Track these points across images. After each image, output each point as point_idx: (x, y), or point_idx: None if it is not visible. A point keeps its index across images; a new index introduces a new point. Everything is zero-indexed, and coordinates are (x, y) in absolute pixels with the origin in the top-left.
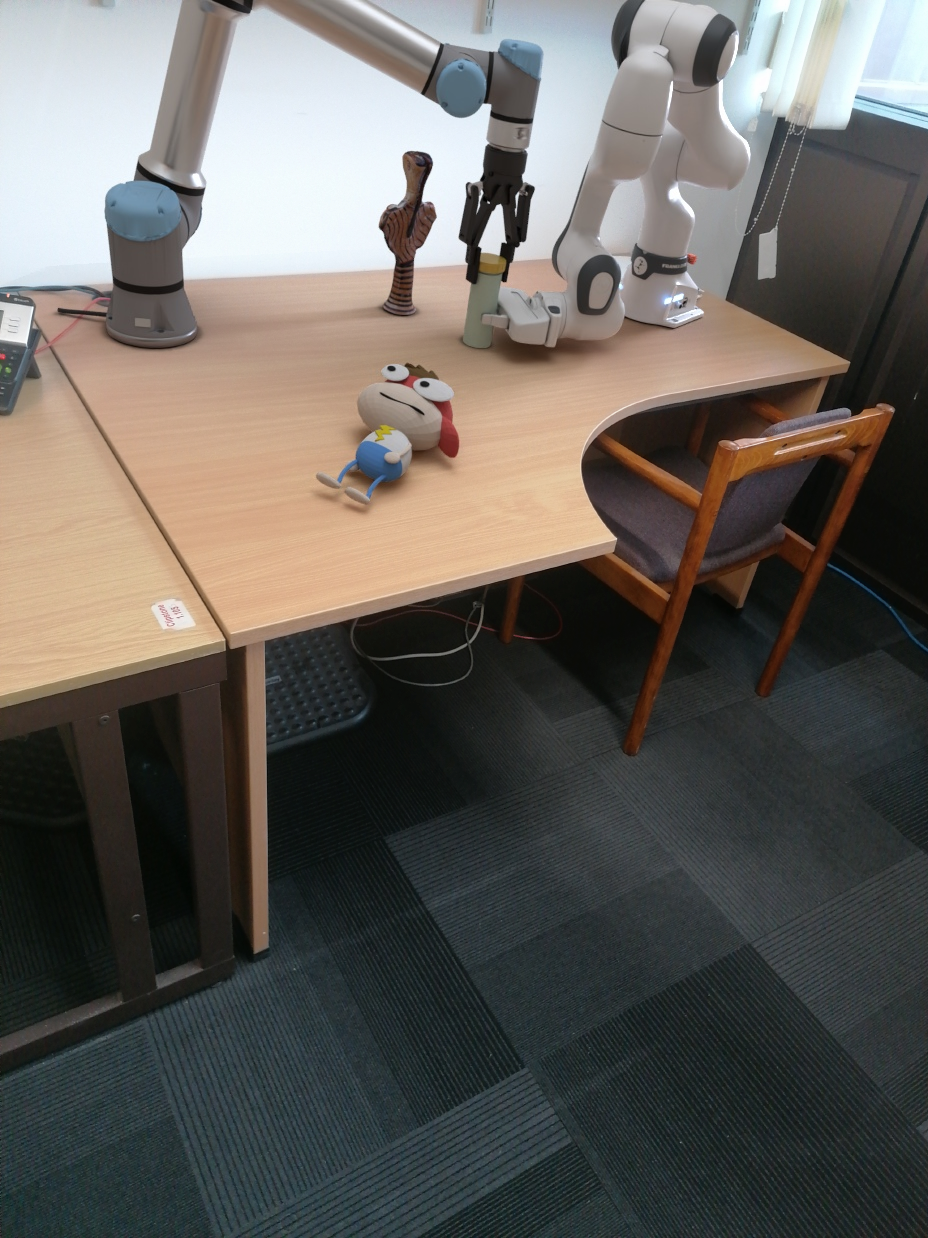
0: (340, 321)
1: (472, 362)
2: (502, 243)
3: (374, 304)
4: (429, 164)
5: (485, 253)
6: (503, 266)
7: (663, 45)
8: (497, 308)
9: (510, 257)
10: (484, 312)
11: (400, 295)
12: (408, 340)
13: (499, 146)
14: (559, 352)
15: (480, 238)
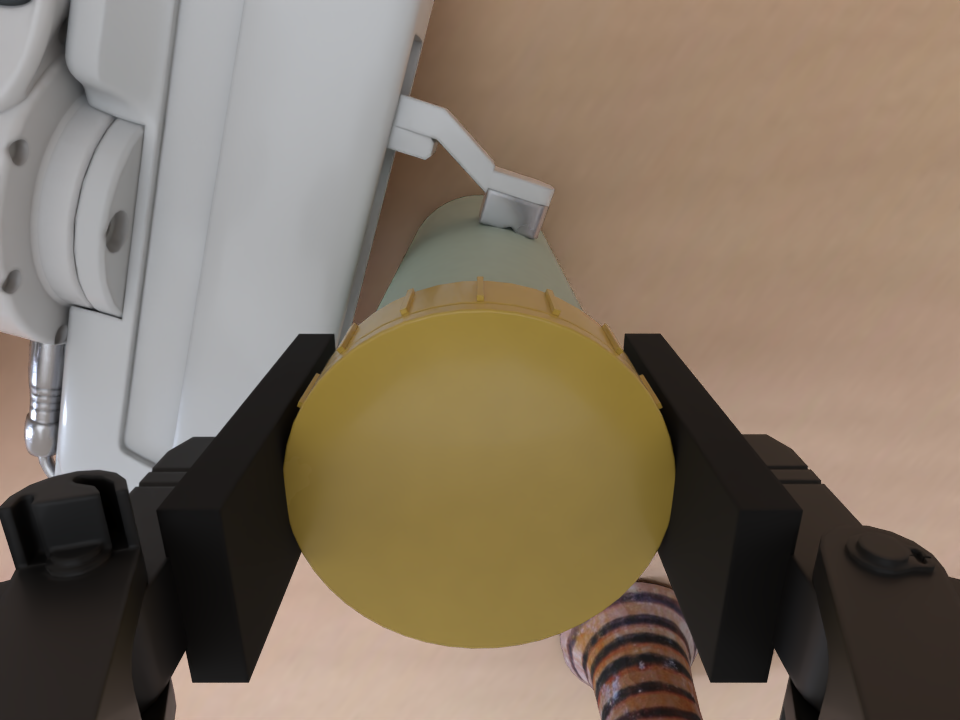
0: (949, 575)
1: (651, 37)
2: (247, 654)
3: (700, 686)
4: None
5: (441, 621)
6: (389, 315)
7: None
8: None
9: (223, 434)
10: (519, 232)
11: (678, 663)
12: (800, 356)
13: None
14: None
15: (860, 619)
